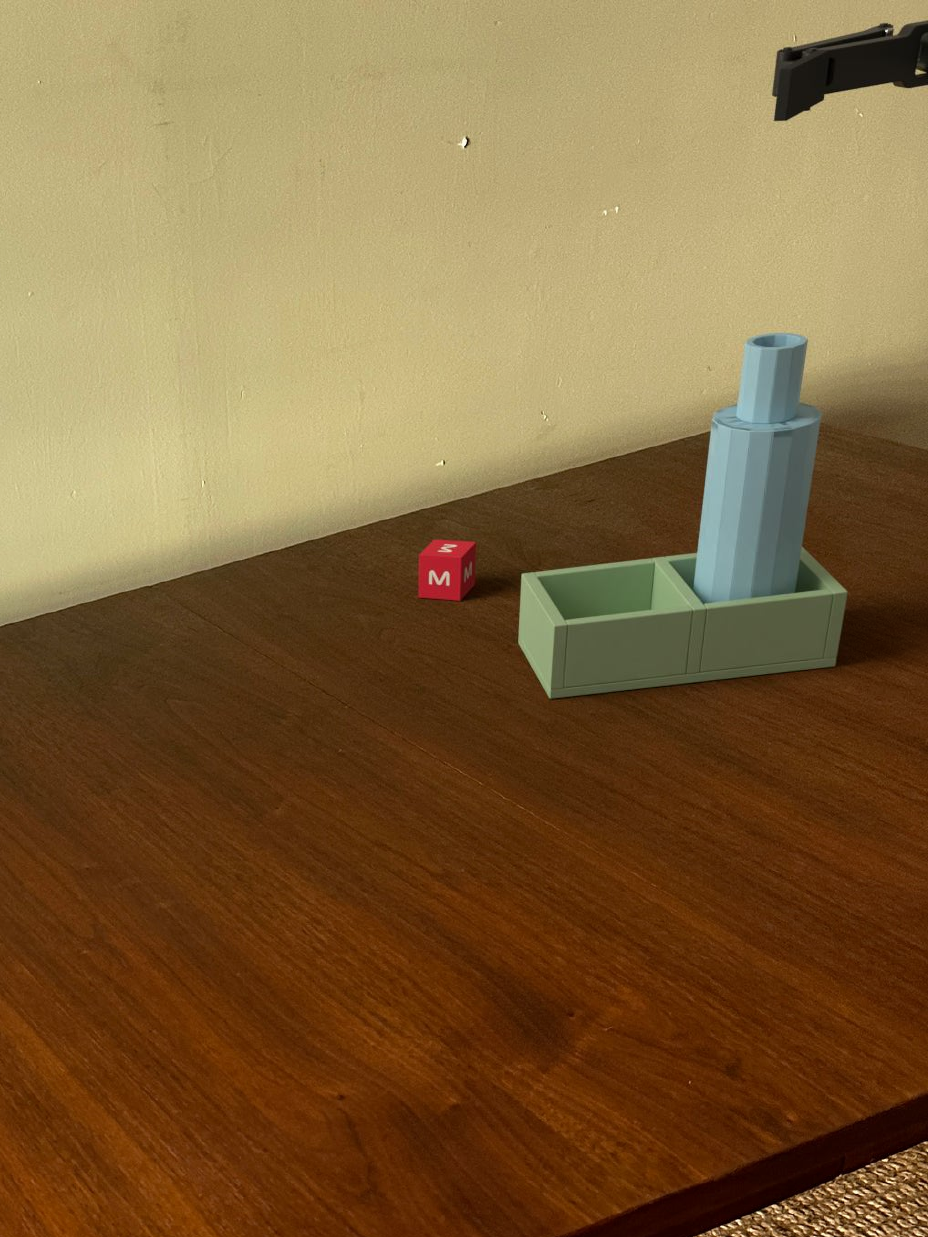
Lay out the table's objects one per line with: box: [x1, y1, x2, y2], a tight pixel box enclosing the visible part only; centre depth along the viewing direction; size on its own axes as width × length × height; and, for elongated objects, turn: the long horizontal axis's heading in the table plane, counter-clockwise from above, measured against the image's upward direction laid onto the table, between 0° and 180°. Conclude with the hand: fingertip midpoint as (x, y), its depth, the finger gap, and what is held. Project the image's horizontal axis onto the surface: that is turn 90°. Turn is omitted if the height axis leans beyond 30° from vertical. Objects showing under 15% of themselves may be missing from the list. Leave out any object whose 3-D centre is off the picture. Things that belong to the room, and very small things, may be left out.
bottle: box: [693, 332, 822, 605], centre depth 104 cm, size 6×6×17 cm
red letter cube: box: [418, 538, 477, 602], centre depth 121 cm, size 3×3×3 cm
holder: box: [517, 546, 848, 700], centre depth 108 cm, size 17×9×5 cm, turn 90°
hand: (901, 91), depth 102 cm, fingers open, 13 cm apart
